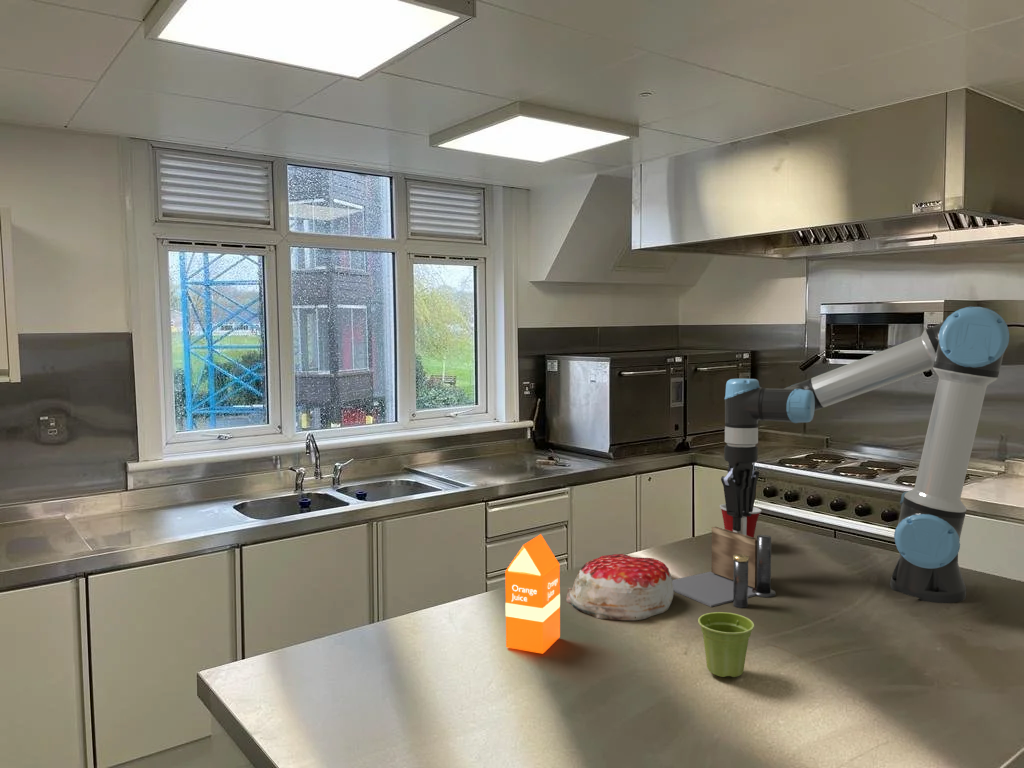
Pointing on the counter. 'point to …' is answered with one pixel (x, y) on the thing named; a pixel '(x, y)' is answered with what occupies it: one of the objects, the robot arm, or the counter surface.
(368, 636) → the counter surface
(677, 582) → the rubber mat
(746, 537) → the gate
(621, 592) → the strawberry shortcake
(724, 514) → the plastic cup
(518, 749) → the counter surface
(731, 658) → the plant pot
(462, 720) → the counter surface
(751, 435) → the robot arm
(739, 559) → the salt and pepper shakers
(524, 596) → the orange juice
